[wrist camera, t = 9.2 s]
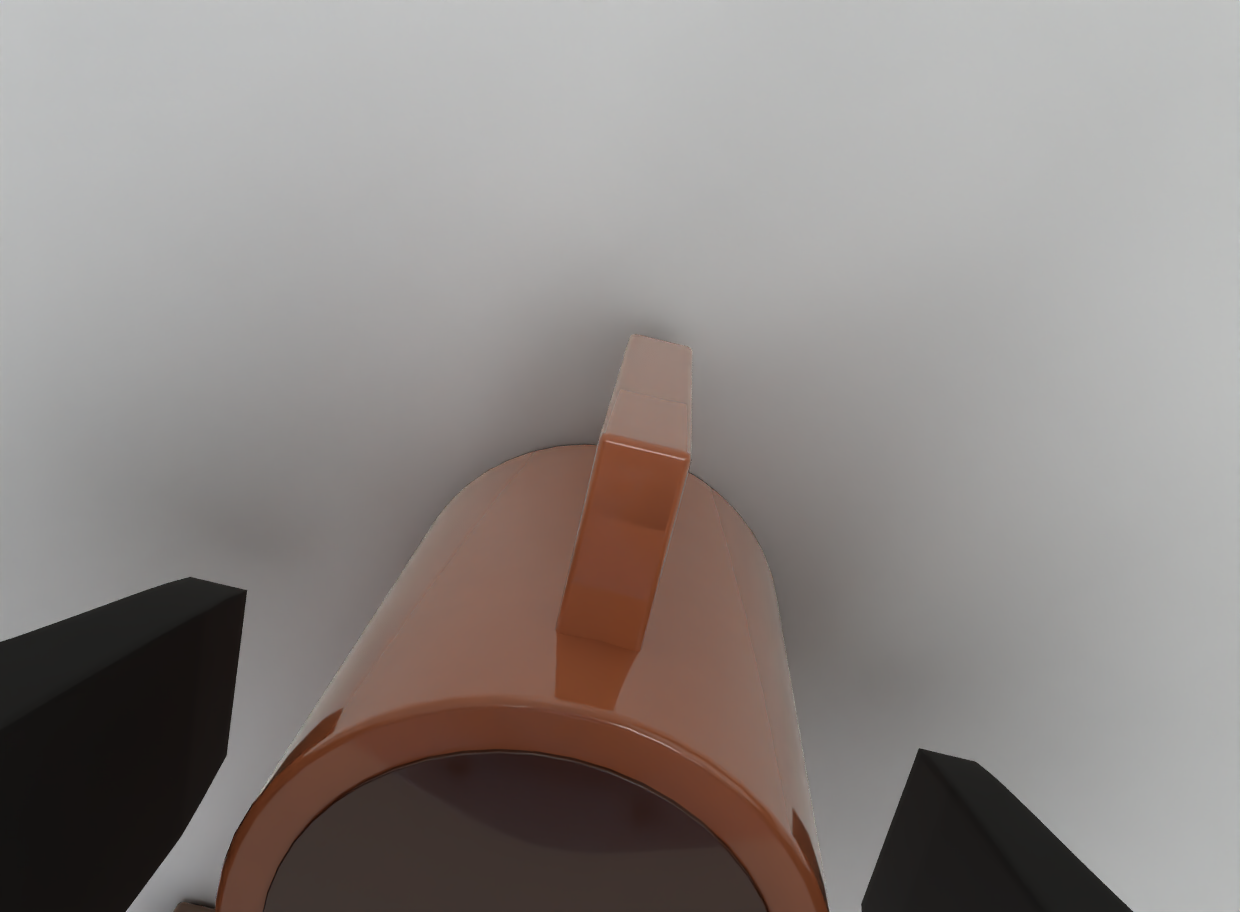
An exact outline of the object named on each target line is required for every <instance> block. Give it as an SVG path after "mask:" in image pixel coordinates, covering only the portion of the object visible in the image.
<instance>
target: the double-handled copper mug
mask: <svg viewBox="0 0 1240 912" xmlns="http://www.w3.org/2000/svg"><path fill="white" fill-rule="evenodd" d="M692 357H693V353H692V349H691V348H690V347H688V346H684V345H680V344H676V343H671V342H667V341H663V340H659V339H655V338H650V337H646V336H642V335H638V334H634V335H631V336H630V338H629V340H628V343H627V346H626V350H625V353H624V356H623V360H622V363H621V366H620V370H619V373H618V377H617V380H616V383H615V387H614V390H613V393H612V397H611V400H610V403H609V407H608V410H607V413H606V417H605V420H604V423H603V427H602V430H601V433H600V437H599V440H598V445H584V444H582V445H569V446H557V447H552V448H548V449H543V450H538V451H533V452H530V453H527V454H525V455H522V456H519V457H516V458H513V459H510V460H508V461H506V462H504V463H502V464H500V465H498V466H496V467H494V468H492V469H490V470H488V471H487V472H485V473H484V474H482V475H481V476H480V477H478V478H477V479H475V480H474V481H472V482H471V483H469V484H468V485H467V486H466V487H465V488H464V489H463V490H462V491H461V492H459V493H458V494H457V495H456V496H455V497H454V498H453V499H452V500H451V501H450V502H449V503H448V505H447V506H446V507H445V508H444V510H443V511H442V512H441V513H440V514H439V516H438V517H437V518H436V520H435V521H434V523H433V524H432V526H431V528H430V529H429V531H428V532H427V534H426V535H425V537H424V538H423V540H422V541H421V543H420V545H419V546H418V548H417V549H416V551H415V552H414V554H413V555H412V557H411V559H410V560H409V562H408V563H407V565H406V566H405V568H404V569H403V571H402V572H401V574H400V576H399V577H398V579H397V580H396V582H395V583H394V585H393V586H392V588H391V590H390V591H389V593H388V594H387V596H386V597H385V599H384V600H383V602H382V603H381V605H380V607H379V608H378V610H377V611H376V613H375V614H374V616H373V617H372V619H371V621H370V622H369V624H368V625H367V627H366V628H365V630H364V631H363V633H362V635H361V636H360V638H359V639H358V641H357V642H356V644H355V645H354V647H353V648H352V650H351V652H350V653H349V655H348V656H347V658H346V659H345V661H344V662H343V664H342V666H341V667H340V669H339V670H338V672H337V673H336V675H335V676H334V678H333V679H332V681H331V683H330V684H329V686H328V687H327V689H326V690H325V692H324V693H323V695H322V697H321V698H320V700H319V701H318V703H317V704H316V706H315V707H314V709H313V710H312V712H311V714H310V715H309V717H308V718H307V720H306V721H305V723H304V724H303V726H302V728H301V729H300V731H299V732H298V734H297V735H296V737H295V738H294V740H293V741H292V743H291V745H290V746H289V748H288V749H287V751H286V752H285V754H284V755H283V757H282V759H281V760H280V762H279V763H278V765H277V766H276V768H275V769H274V771H273V772H272V774H271V776H270V777H269V779H268V780H267V782H266V783H265V785H264V786H263V788H262V790H261V791H260V793H259V794H258V796H257V797H256V799H255V800H254V802H253V803H252V805H251V807H250V808H249V810H248V812H247V814H246V815H245V817H244V819H243V820H242V822H241V824H240V825H239V827H238V829H237V830H236V832H235V834H234V836H233V839H232V842H231V844H230V847H229V849H228V852H227V854H226V857H225V859H224V862H223V865H222V870H221V874H220V879H219V884H218V889H217V893H216V905H215V912H830V906H829V900H828V894H827V889H826V883H825V877H824V871H823V865H822V859H821V853H820V847H819V842H818V836H817V830H816V824H815V818H814V812H813V806H812V801H811V795H810V789H809V783H808V777H807V771H806V765H805V759H804V754H803V748H802V742H801V736H800V730H799V724H798V718H797V713H796V707H795V701H794V695H793V689H792V683H791V677H790V671H789V666H788V660H787V654H786V648H785V642H784V636H783V630H782V625H781V619H780V613H779V607H778V601H777V596H776V591H775V586H774V582H773V577H772V574H771V571H770V568H769V566H768V563H767V560H766V558H765V555H764V553H763V551H762V549H761V547H760V545H759V544H758V542H757V540H756V538H755V536H754V534H753V533H752V531H751V530H750V529H749V527H748V526H747V524H746V523H745V522H744V520H743V519H742V518H741V516H740V515H739V514H738V513H737V512H736V511H735V509H734V508H733V507H732V506H731V505H730V504H729V503H728V502H727V501H726V500H725V499H724V498H723V497H722V496H721V495H720V494H718V493H717V492H716V491H715V490H713V489H712V488H711V487H710V486H708V485H707V484H706V483H705V482H703V481H702V480H700V479H699V478H697V477H695V476H694V475H692V474H690V473H689V468H690V464H691V451H692Z"/></svg>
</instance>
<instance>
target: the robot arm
mask: <svg viewBox="0 0 1240 912" xmlns="http://www.w3.org/2000/svg"><path fill="white" fill-rule="evenodd" d="M246 595H247V590H243V589H239V588H235V587H231V586H226V585H222V584H218V583H214V582H209V581H205V580H201V579H197V578H192V577H188V578H184V579H181V580H177V581H173V582H170V583H167V584H163V585H160V586H157V587H154V588H151V589H148V590H146V591H143V592H140V593H137V594H134V595H131V596H129V597H126V598H123V599H120V600H118V601H115V602H112V603H109V604H107V605H104V606H101V607H98V608H96V609H93V610H90V611H87V612H85V613H82V614H79V615H76V616H73V617H71V618H68V619H65V620H62V621H59V622H57V623H54V624H51V625H48V626H45V627H43V628H40V629H37V630H34V631H31V632H29V633H26V634H23V635H20V636H17V637H14V638H11V639H8V640H5V641H2V642H0V912H126V910H127V909H128V908H129V906H130V905H131V904H132V902H133V901H134V900H135V898H136V897H137V896H138V894H139V893H140V892H141V890H142V889H143V888H144V886H145V885H146V884H147V882H148V881H149V880H150V878H151V877H152V876H153V874H154V873H155V872H156V870H157V869H158V867H159V866H160V865H161V863H162V862H163V861H164V859H165V858H166V857H167V855H168V854H169V853H170V851H171V850H172V848H173V847H174V846H175V844H176V843H177V841H178V840H179V839H180V837H181V836H182V834H183V832H184V831H185V829H186V827H187V825H188V824H189V822H190V820H191V818H192V817H193V815H194V813H195V812H196V810H197V808H198V806H199V805H200V803H201V801H202V799H203V798H204V796H205V794H206V792H207V790H208V788H209V787H210V785H211V783H212V781H213V779H214V777H215V776H216V774H217V772H218V770H219V768H220V766H221V765H222V763H223V761H224V759H225V757H226V755H227V747H228V739H229V731H230V723H231V715H232V707H233V699H234V691H235V683H236V675H237V667H238V659H239V651H240V643H241V635H242V627H243V619H244V611H245V603H246ZM861 906H862V912H1133V911H1132V910H1131V909H1130V908H1129V907H1128V906H1127V905H1126V904H1125V903H1124V902H1122V901H1121V900H1120V899H1119V898H1118V897H1117V896H1116V895H1115V894H1114V893H1113V892H1112V891H1111V890H1110V889H1109V888H1108V887H1107V886H1106V885H1105V884H1104V883H1103V882H1102V881H1101V880H1100V879H1099V878H1098V877H1097V876H1096V875H1094V874H1093V873H1092V872H1091V871H1090V870H1089V869H1088V868H1087V867H1086V866H1085V865H1084V864H1083V863H1082V862H1081V861H1080V860H1079V859H1078V858H1077V857H1076V856H1075V855H1074V854H1073V853H1072V852H1071V851H1070V850H1069V849H1068V848H1067V847H1066V846H1065V845H1064V844H1063V843H1062V842H1061V841H1060V840H1059V839H1058V838H1057V837H1056V836H1055V835H1054V834H1053V833H1052V832H1051V831H1050V830H1049V829H1048V828H1047V827H1046V826H1045V825H1044V824H1043V823H1042V822H1041V821H1040V820H1039V819H1038V818H1037V817H1036V816H1035V815H1034V814H1033V813H1032V812H1031V811H1030V810H1029V809H1028V808H1027V807H1026V806H1025V805H1024V804H1022V803H1021V802H1020V801H1019V800H1018V799H1017V798H1016V797H1015V796H1014V795H1013V794H1012V793H1011V792H1010V791H1009V790H1008V789H1007V788H1006V787H1005V786H1004V785H1003V784H1001V783H1000V782H999V781H998V780H997V779H996V778H995V777H994V776H993V775H991V774H990V773H989V772H988V771H987V770H985V769H984V768H983V767H982V766H981V765H979V764H978V763H977V762H975V761H970V760H966V759H962V758H958V757H953V756H949V755H945V754H941V753H936V752H932V751H928V750H924V749H919V750H918V752H917V755H916V758H915V761H914V763H913V766H912V769H911V771H910V774H909V777H908V779H907V782H906V785H905V788H904V790H903V793H902V796H901V798H900V801H899V804H898V806H897V809H896V812H895V815H894V817H893V820H892V823H891V825H890V828H889V831H888V833H887V836H886V839H885V842H884V844H883V847H882V850H881V852H880V855H879V858H878V860H877V863H876V866H875V868H874V871H873V874H872V877H871V879H870V882H869V885H868V887H867V890H866V893H865V895H864V898H863V901H862V904H861Z"/></svg>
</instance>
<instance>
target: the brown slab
mask: <svg viewBox="0 0 1240 912" xmlns="http://www.w3.org/2000/svg"><path fill="white" fill-rule="evenodd" d="M173 912H215V909H213V908H209V907H204V906H200V905H196V904H192V903H187V902H180V903H179V904H178V905H177V906H176V908H175V909H174V911H173Z"/></svg>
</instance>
